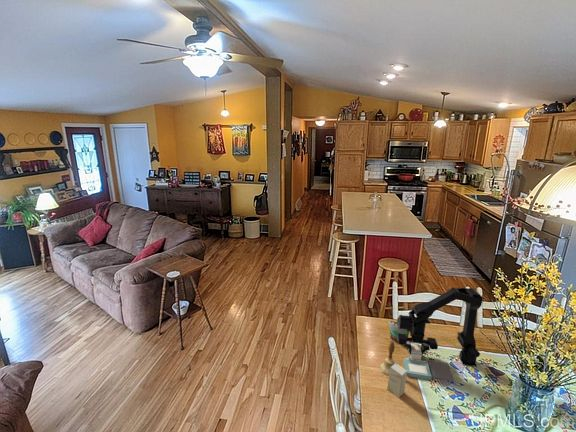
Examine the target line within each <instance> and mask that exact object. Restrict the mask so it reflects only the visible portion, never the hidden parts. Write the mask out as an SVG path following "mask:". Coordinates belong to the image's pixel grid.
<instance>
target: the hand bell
mask: <svg viewBox="0 0 576 432" xmlns="http://www.w3.org/2000/svg"><path fill="white" fill-rule="evenodd" d="M394 351H395V341H393V340H392V341H390V343H389V345H388V357H385V358H384V362H383V363H381V364H380V365H379V369H380V371H381V372H382V373H383V374H384V375H387V376H389V374H390V367H391V366H392V365H394V364H395V363H396V362H395V360H394V358H393V354H394Z"/></svg>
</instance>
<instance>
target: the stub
mask: <svg viewBox="0 0 576 432" xmlns="http://www.w3.org/2000/svg"><path fill="white" fill-rule="evenodd" d="M422 356H423V354H422V352H421V345H420V344H419V343H412V342H411V355H410V354H409V357H410V358H409V359H414V360H420V361H422Z"/></svg>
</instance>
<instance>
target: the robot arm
mask: <svg viewBox="0 0 576 432" xmlns="http://www.w3.org/2000/svg"><path fill="white" fill-rule="evenodd" d="M456 300H459V301H463V302H464V303H465V306H466V307H465V312H464V318H463V319H464V321H463V328H462V331H461V332H457V337H456V340H457V341H458V343H459V344H460V346H461V350H460V351H459V354H458V358H459V360H460V362H461V364H462V365H463V366H464V365H465V366H470V367H477V366H478V365H477V363H476V362H477V358H479V357H480V356H481V353H480V351H479V349H477V343H476V339H475V338H476V337H475V330H476V329H475V327H476V321H477V315H478V310H479V309H480V307H482V304H483V300H484V298H483V296H482V295H481V294H480V293H479V292H478V291H477V290H476V289H475V288H473V287H470V288H468V287H467V288H465V287H458V288H457V287H451V288H450V289H449V290H447V291H446V292H444V293H442V294H440V295H438V296H437V297H435V298H433V299H431V300H429V301H425V302H424V301H423V302H420V303H417V304H416V305H414V307H413V308H412V309H411V310H410V311H409V312H408V315H402V314H399V315H398V317H397V318H396V322H397V326H398V328H399V329H406V330H407V331H409V335H410V337H409V336H408V337H406V335H405V334H400V333H398V334H397V340H398V342H397V344H398V345H402V346H405V347H407V350H408V353H409V356H410V355H411V343H413V344H419V345H420V344H421V345H420V349H421V352H422V355H423V354H425V352H427V351H430V349H431V350H434V351H436V350H438V348H439V344H438V342H437V340H436V338H435V337H427V338H425V330H426V325H427V324H429V325H431V321H430V317H432V316H433V314H434V312H436V311H438V310H439V309H441V308H443V307H445V306H447V305H449V304H450V303H452V302H454V301H456Z"/></svg>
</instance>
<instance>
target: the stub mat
mask: <svg viewBox="0 0 576 432" xmlns="http://www.w3.org/2000/svg"><path fill="white" fill-rule="evenodd" d="M427 363H428V366H429V369H430V373H431V376H432V379H436V380H442V381H448V382H454V383H455V381H456V380H455V378H454V377H455V376H454V375H453V372H452V370H451V367H450V365H449V363H448V362H446V361H445V362H444V361H439V360H431V359H427Z"/></svg>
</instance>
